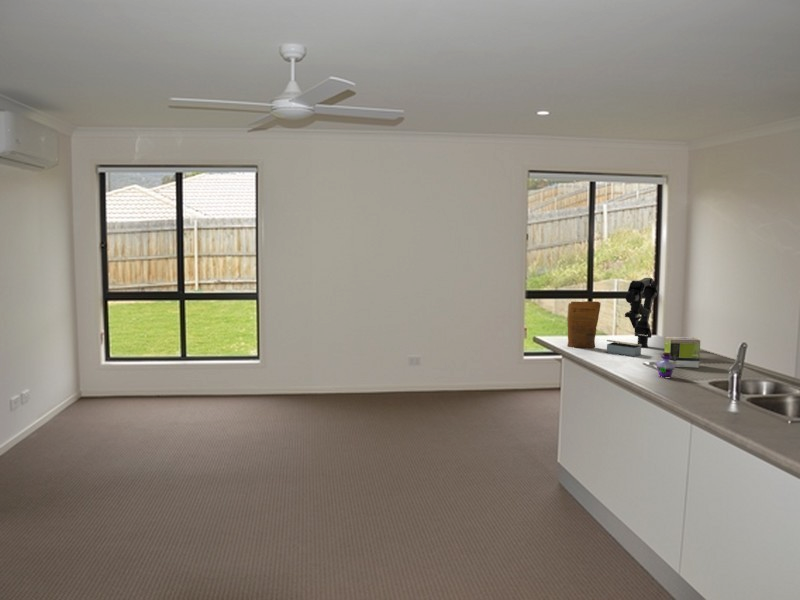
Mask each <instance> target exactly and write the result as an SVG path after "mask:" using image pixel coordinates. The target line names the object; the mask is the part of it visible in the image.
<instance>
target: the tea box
mask: <svg viewBox="0 0 800 600" xmlns="http://www.w3.org/2000/svg"><path fill="white" fill-rule="evenodd" d="M700 350H701V340H700V339H698V338H695V337H694V336H693V337H691V336H690V337H689V336H688V337H687V336H665V338H664V351H663V353H664V352H666V353H670V355H671V359H669V362H672V363H675V368H696V369H697V368H700V357H701V356H700V355H701V351H700Z"/></svg>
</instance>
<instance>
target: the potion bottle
mask: <svg viewBox="0 0 800 600" xmlns="http://www.w3.org/2000/svg"><path fill="white" fill-rule="evenodd" d="M661 359H662V360H660V361H656V362H655V363H656V369H657V371H658V376H659V375H660V376H662V377H671V378H672V375H673V372H674V370H675V368H676V367H675V363H672V362H669V359H671V355H670V353H666V352H664V351H663V352H662V354H661Z"/></svg>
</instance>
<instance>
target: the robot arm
mask: <svg viewBox="0 0 800 600" xmlns="http://www.w3.org/2000/svg"><path fill="white" fill-rule="evenodd" d="M627 289H628V290H627V292H628V293H627V294H626V296H625V301H626V303H628V304H629V306H630V310H629V311H627V312H625V313H624V318H629V321H630V323H631V326H632V329H634V337H637V344H642V346H641V348H645V349H647V348H649V345H648V344H649V341H648V340H649V339H650V338H652V335H653V333H652V330H651V326H650V323H649V322H650V321H649V320H650V315H651V313H652V306H653V300H655V299H656V298H657V296H658V294H659V291H660V288H659V285H658V283H657V282H655V280H654V278H652V277H644V278H642V279H640V280H635V279H634V280H631V282H630V283H629V286H628V288H627ZM643 296H644V301H643ZM642 301H643V303H642ZM638 346H639V345H638Z"/></svg>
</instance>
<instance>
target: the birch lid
mask: <svg viewBox="0 0 800 600" xmlns="http://www.w3.org/2000/svg"><path fill="white" fill-rule="evenodd" d="M606 342H609V343H613V342H616V343H623V344H631V345H639V346H642V344H638V343H635V342H634V343H633V342H626V341H625V342H624V341H618V340H612V339H606Z"/></svg>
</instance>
